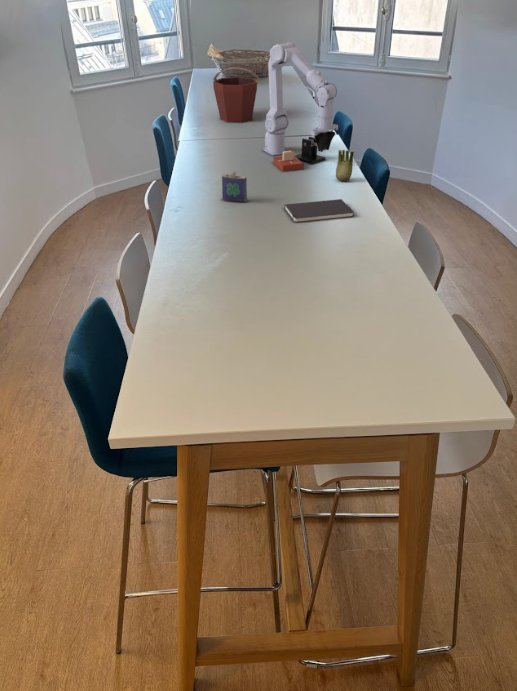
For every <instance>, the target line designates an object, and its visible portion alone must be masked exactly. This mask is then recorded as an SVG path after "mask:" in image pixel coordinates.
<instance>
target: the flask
mask: <svg viewBox="0 0 517 691" xmlns="http://www.w3.org/2000/svg"><path fill="white" fill-rule="evenodd" d="M247 180H248V178H247V177H246V176H243V175H237V171H235V170H234V171H232V172H231V174H230V173H229V174H228V173H226V174H222V176H221V188H222V190H221V191H222V192H221V193H222V201H224V202H229V203H230V202H231V203H247V201H248V187H247V186H248V184H247Z"/></svg>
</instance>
